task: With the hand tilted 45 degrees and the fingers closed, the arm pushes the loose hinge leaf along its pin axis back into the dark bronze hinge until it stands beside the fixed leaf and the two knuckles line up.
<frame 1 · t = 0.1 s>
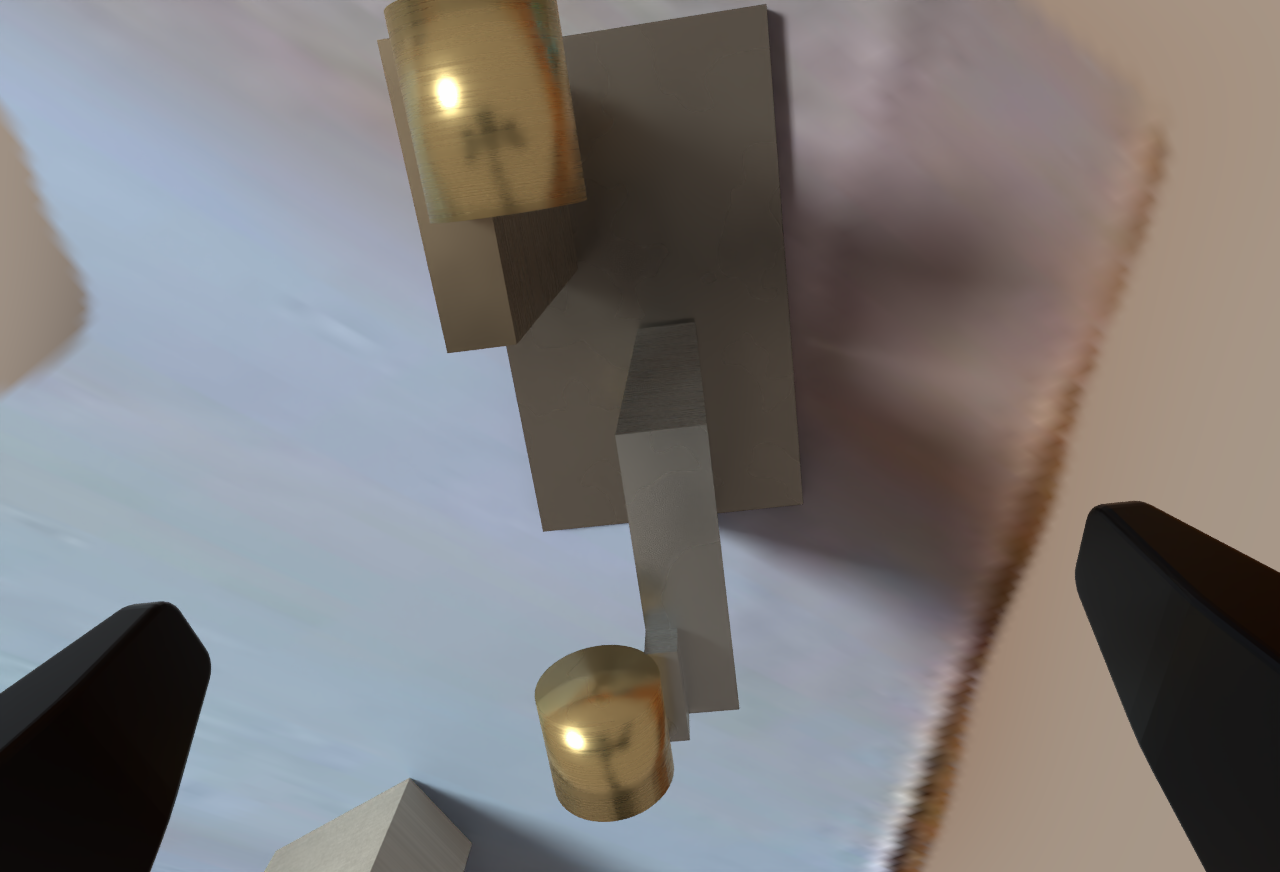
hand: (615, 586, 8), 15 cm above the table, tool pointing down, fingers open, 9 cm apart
hinge base: (631, 214, 21), on the table
tea bag: (375, 842, 30), on the table
loose leaf: (639, 527, 18), point 6 cm above the table, slide at 6.0 cm
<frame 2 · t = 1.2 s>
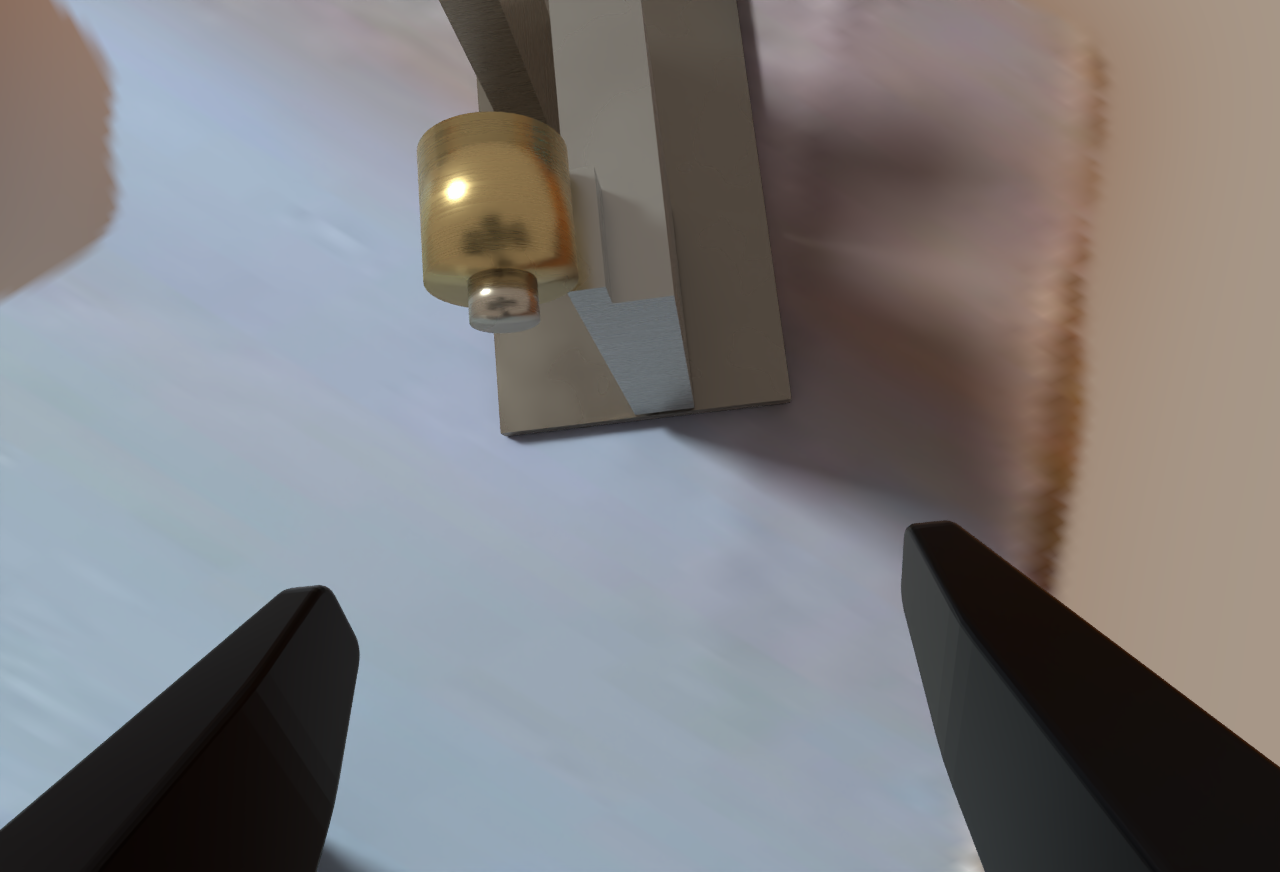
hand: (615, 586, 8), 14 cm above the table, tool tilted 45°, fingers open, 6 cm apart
hinge base: (615, 127, 23), on the table
loose leaf: (584, 234, 16), point 6 cm above the table, slide at 6.0 cm
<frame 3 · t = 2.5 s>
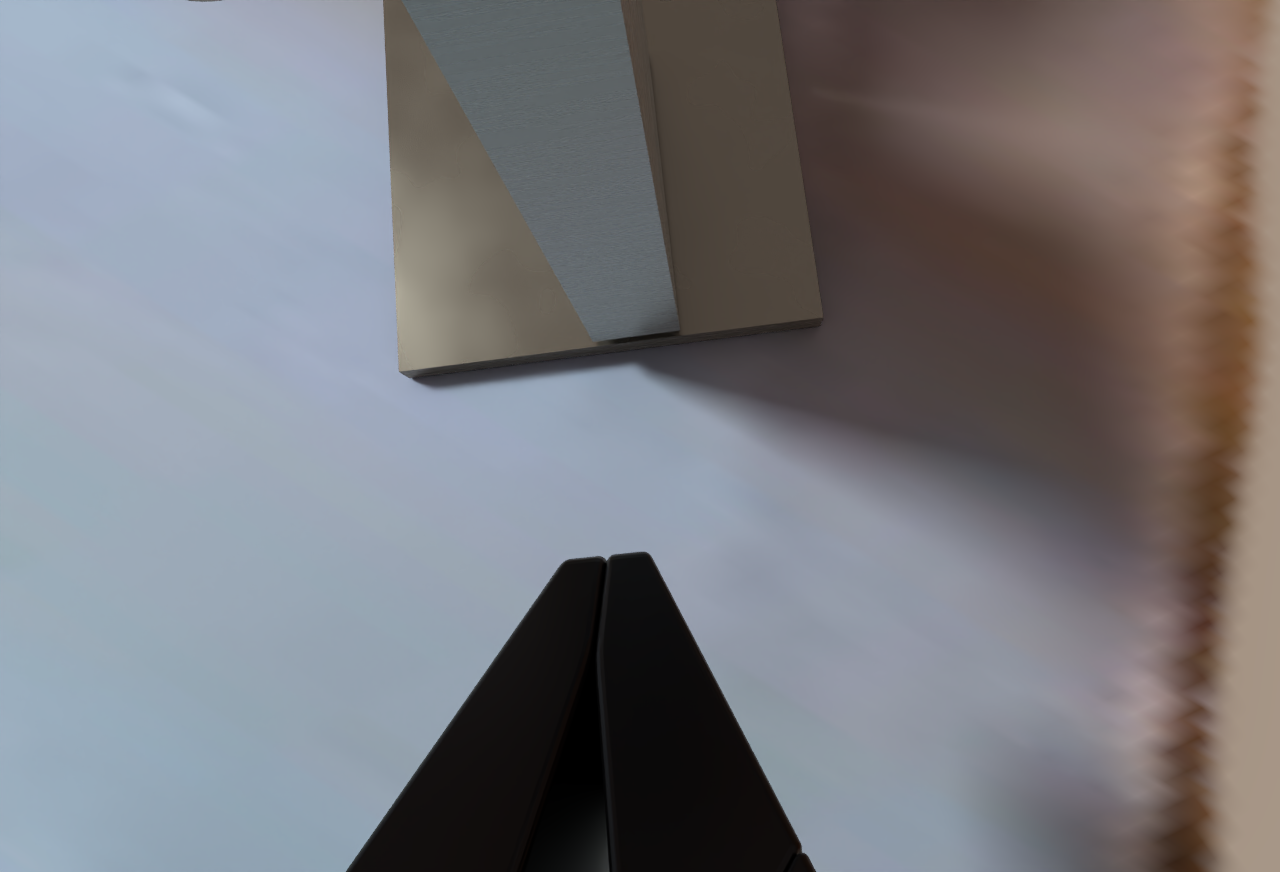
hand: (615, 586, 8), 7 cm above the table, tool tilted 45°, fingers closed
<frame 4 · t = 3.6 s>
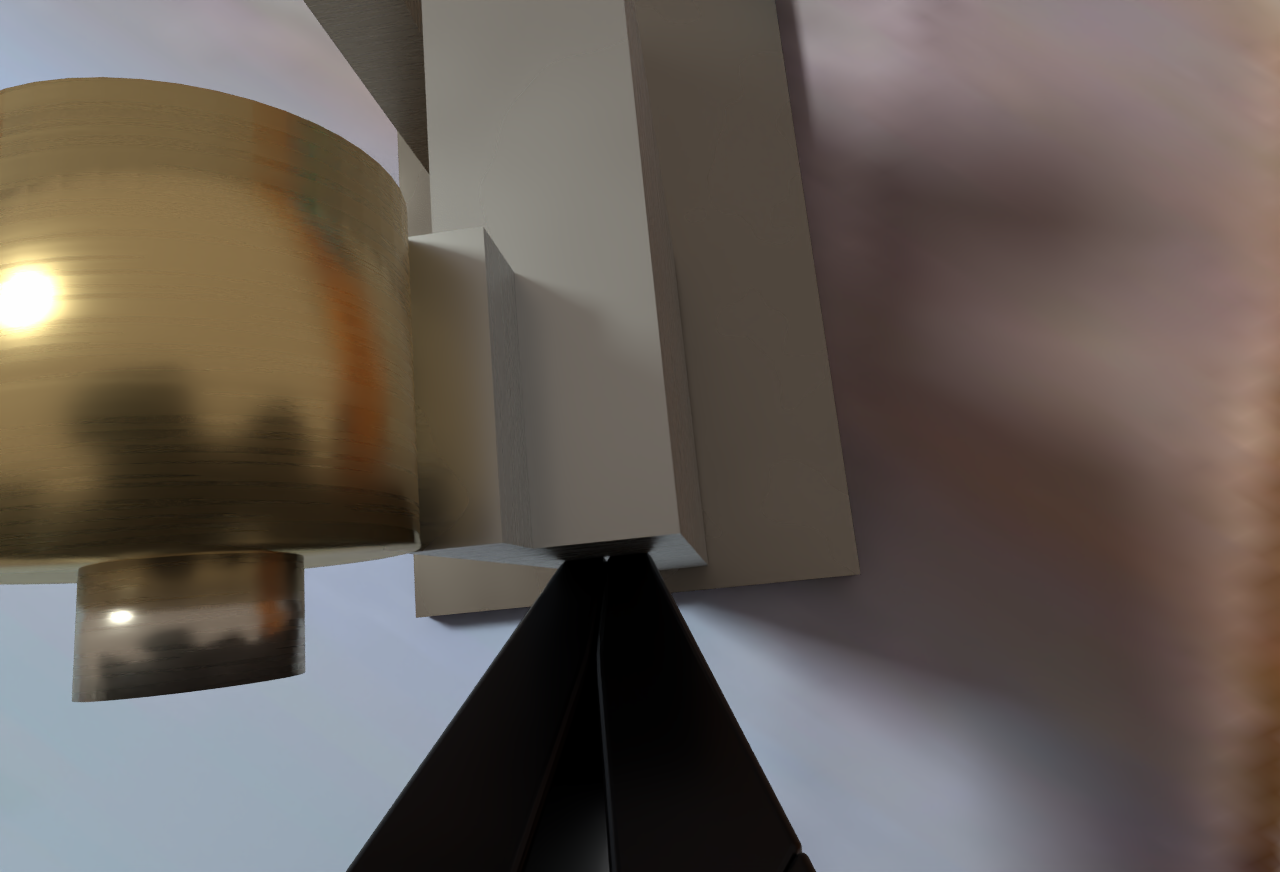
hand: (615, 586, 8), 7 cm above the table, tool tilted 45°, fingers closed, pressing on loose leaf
hinge base: (594, 154, 16), on the table
loose leaf: (516, 327, 9), point 6 cm above the table, slide at 5.6 cm, touching gripper
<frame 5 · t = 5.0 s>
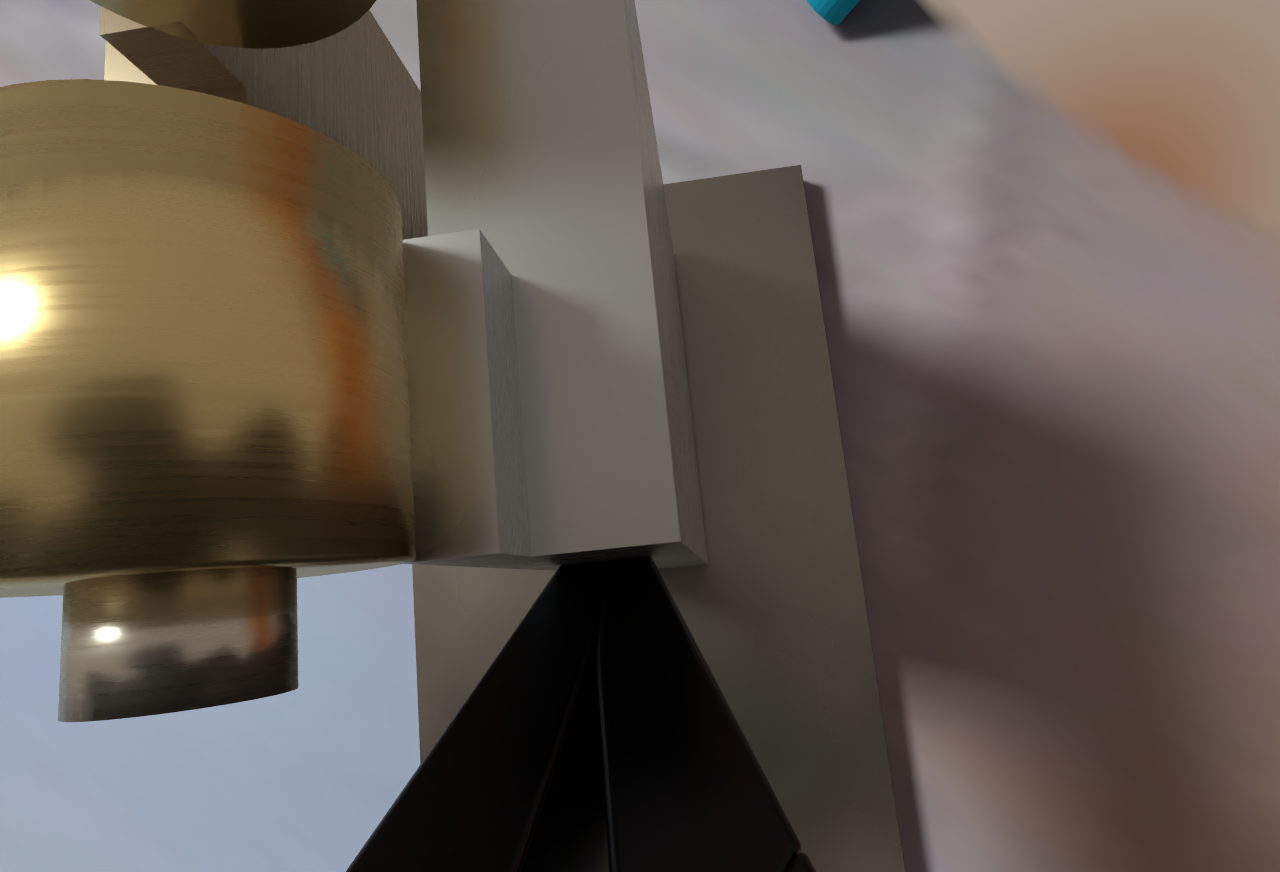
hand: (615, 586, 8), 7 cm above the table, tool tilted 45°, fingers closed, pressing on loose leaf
hinge base: (619, 423, 15), on the table
loose leaf: (514, 327, 9), point 6 cm above the table, slide at -0.2 cm, touching gripper
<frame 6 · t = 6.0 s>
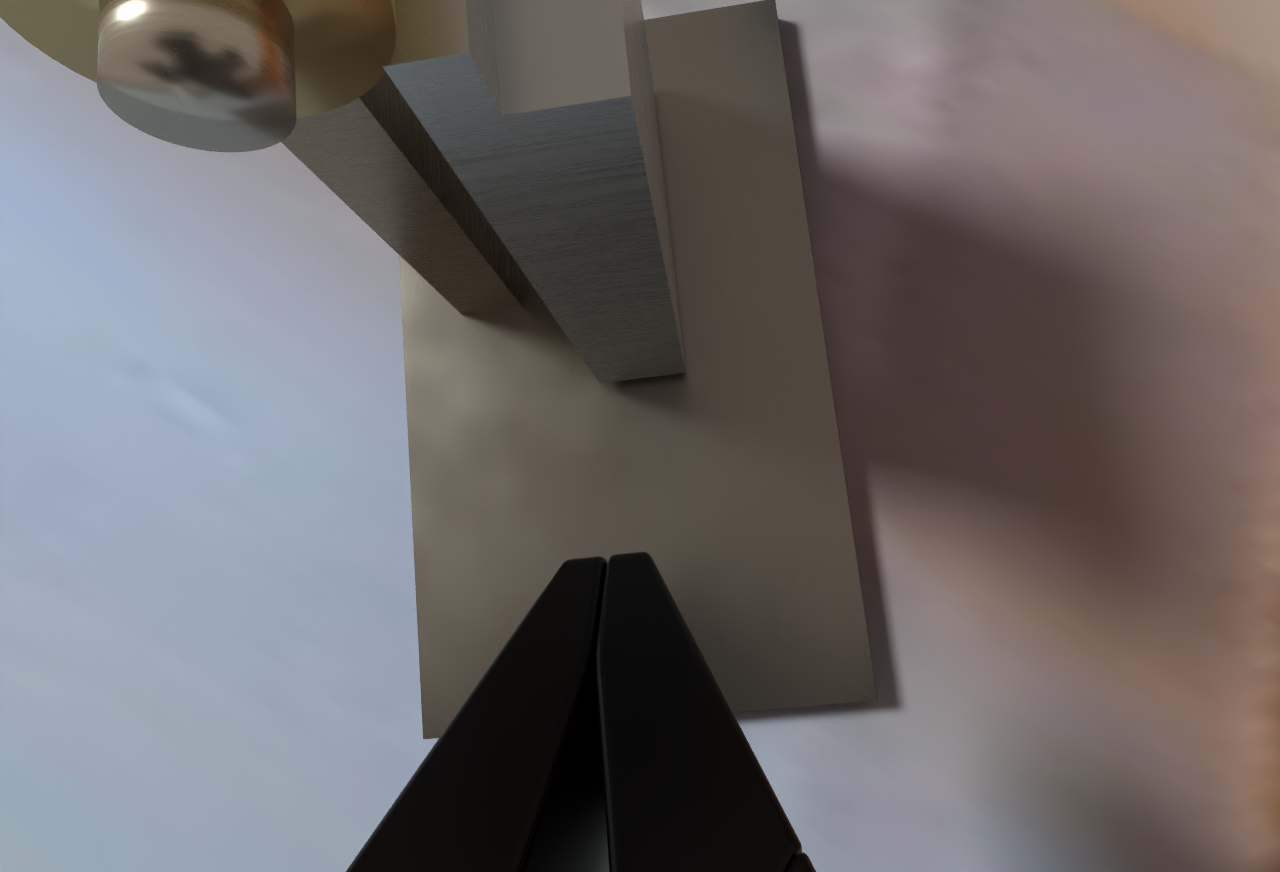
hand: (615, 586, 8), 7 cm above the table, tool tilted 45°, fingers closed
hinge base: (601, 247, 16), on the table
loose leaf: (494, 62, 9), point 6 cm above the table, slide at 0.0 cm
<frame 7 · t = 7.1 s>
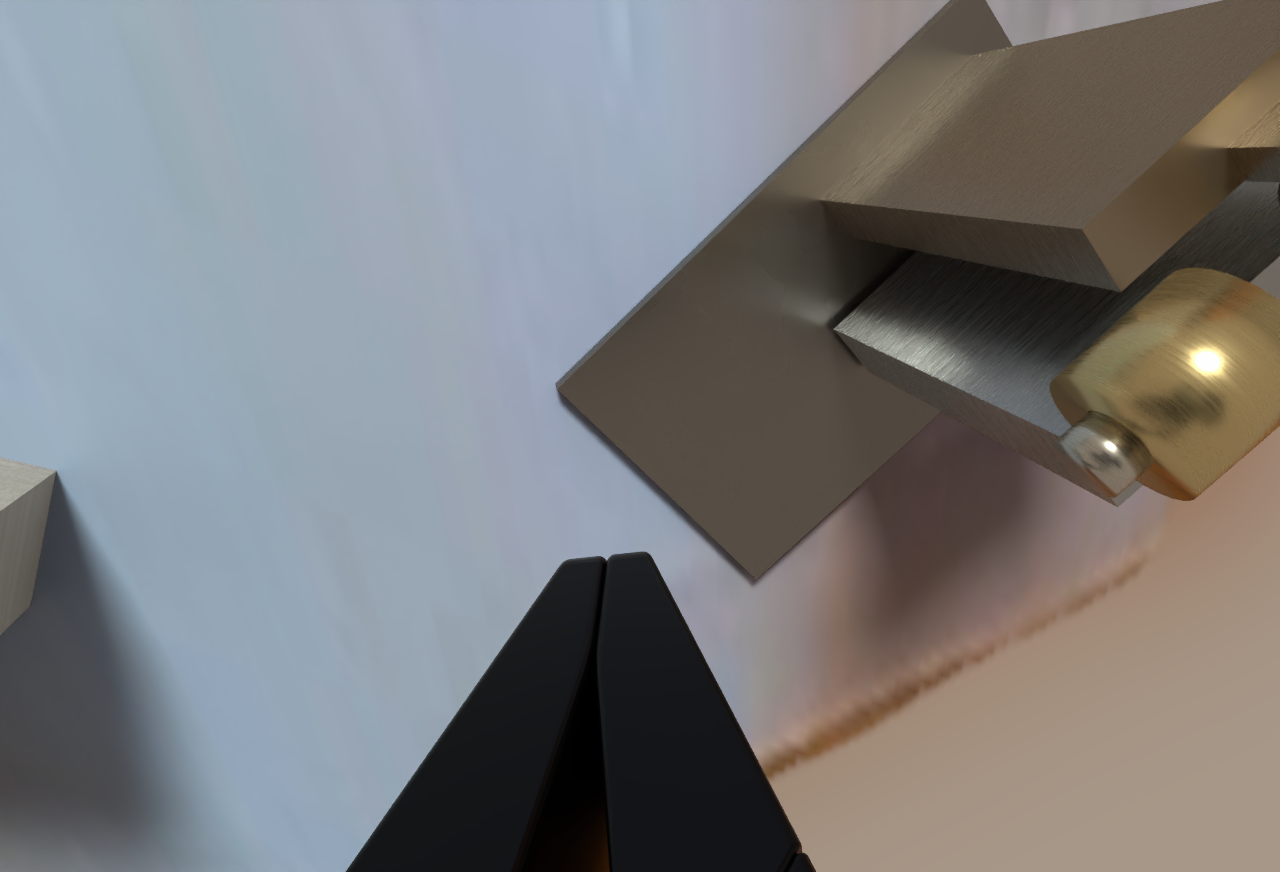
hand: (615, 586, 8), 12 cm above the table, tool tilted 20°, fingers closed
hinge base: (910, 248, 20), on the table
loose leaf: (1065, 280, 14), point 6 cm above the table, slide at 0.0 cm
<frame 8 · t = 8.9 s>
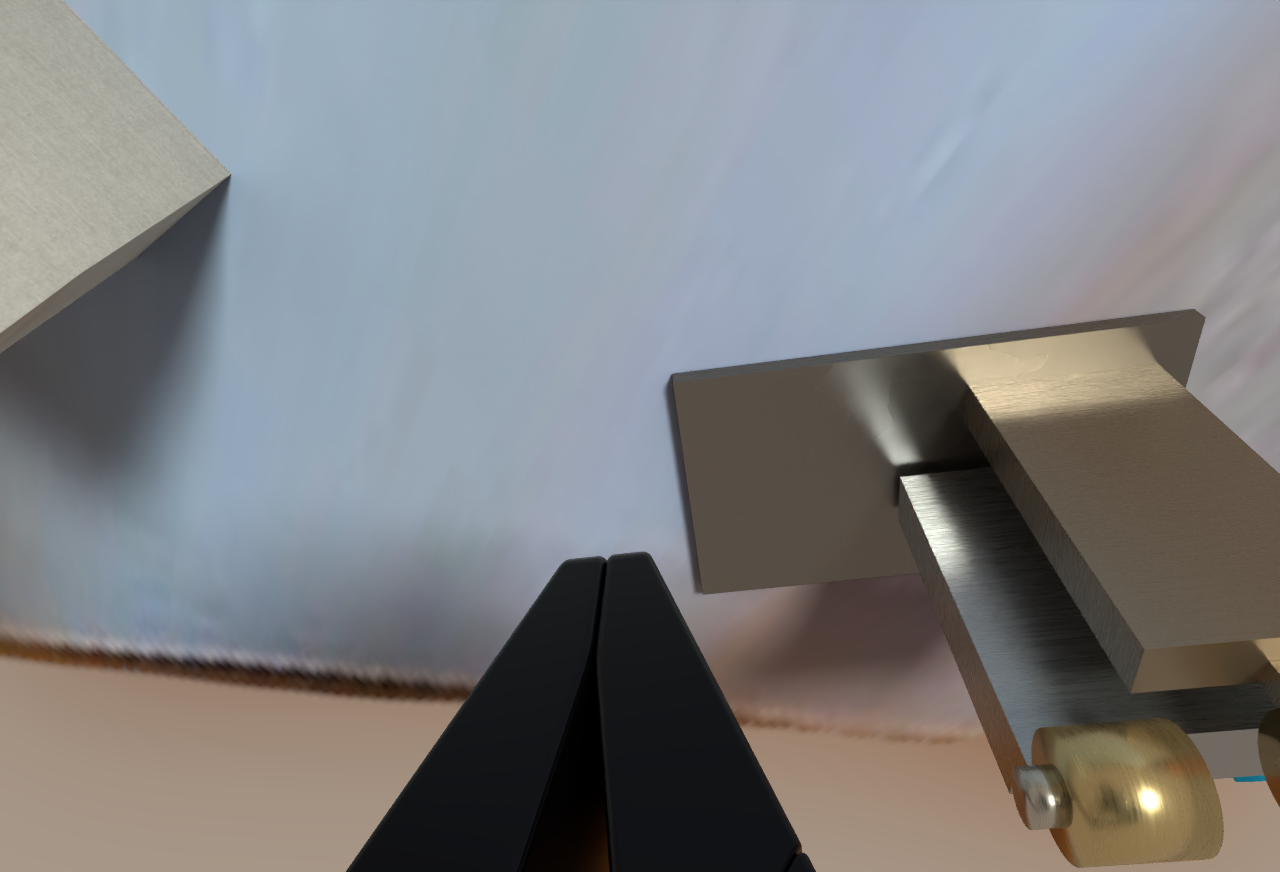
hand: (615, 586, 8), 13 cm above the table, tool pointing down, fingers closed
hinge base: (996, 454, 23), on the table
tea bag: (60, 92, 18), on the table
loose leaf: (1092, 611, 17), point 6 cm above the table, slide at 0.0 cm
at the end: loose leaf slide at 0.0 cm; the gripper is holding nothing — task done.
